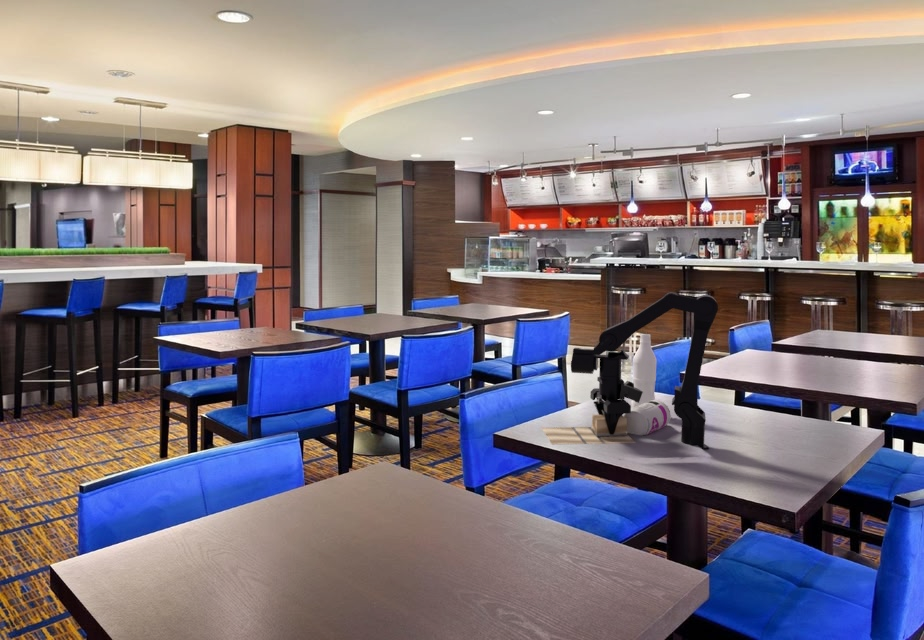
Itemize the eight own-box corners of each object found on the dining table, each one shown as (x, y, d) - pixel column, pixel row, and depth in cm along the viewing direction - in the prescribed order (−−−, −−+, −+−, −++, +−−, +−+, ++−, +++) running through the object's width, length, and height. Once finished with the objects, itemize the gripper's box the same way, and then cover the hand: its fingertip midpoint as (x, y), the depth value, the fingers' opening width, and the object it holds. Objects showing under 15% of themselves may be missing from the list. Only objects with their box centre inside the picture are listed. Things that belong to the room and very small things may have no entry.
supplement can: (676, 411, 191) (654, 421, 179) (662, 433, 194) (638, 445, 183) (653, 393, 195) (630, 402, 183) (639, 415, 198) (615, 425, 187)
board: (635, 447, 175) (635, 442, 175) (551, 448, 174) (551, 444, 174) (618, 430, 191) (618, 426, 191) (541, 431, 190) (541, 427, 190)
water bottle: (657, 417, 206) (660, 336, 203) (634, 417, 206) (636, 336, 204) (651, 411, 213) (654, 333, 211) (629, 411, 213) (631, 333, 211)
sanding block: (626, 435, 181) (626, 418, 180) (596, 435, 180) (597, 419, 180) (620, 430, 186) (621, 414, 185) (592, 430, 185) (592, 414, 185)
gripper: (651, 381, 172) (649, 440, 174) (629, 368, 191) (628, 422, 192) (608, 381, 172) (607, 441, 173) (590, 368, 190) (589, 422, 192)
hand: (609, 431), depth 183 cm, fingers closed on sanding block, 5 cm apart
